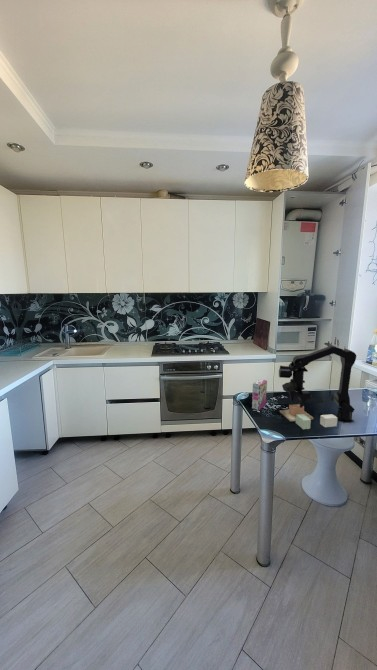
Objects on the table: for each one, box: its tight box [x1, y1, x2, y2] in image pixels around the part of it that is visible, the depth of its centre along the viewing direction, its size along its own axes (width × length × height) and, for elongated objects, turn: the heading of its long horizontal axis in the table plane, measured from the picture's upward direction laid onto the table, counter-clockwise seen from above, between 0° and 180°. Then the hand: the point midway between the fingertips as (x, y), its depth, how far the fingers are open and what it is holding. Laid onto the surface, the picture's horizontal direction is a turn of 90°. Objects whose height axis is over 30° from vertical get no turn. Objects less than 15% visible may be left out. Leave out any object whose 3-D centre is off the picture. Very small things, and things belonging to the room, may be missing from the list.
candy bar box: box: [251, 379, 268, 411], centre depth 161 cm, size 11×5×16 cm, turn 141°
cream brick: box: [319, 413, 338, 428], centre depth 139 cm, size 7×4×5 cm, turn 99°
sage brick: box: [295, 414, 312, 430], centre depth 138 cm, size 7×4×5 cm, turn 8°
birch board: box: [279, 409, 314, 422], centre depth 150 cm, size 14×12×1 cm
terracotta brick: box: [288, 403, 305, 416], centre depth 150 cm, size 7×4×5 cm, turn 99°
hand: (296, 404), depth 149 cm, fingers open, 9 cm apart
